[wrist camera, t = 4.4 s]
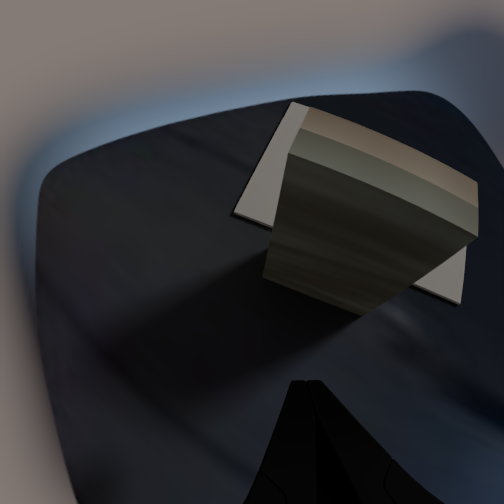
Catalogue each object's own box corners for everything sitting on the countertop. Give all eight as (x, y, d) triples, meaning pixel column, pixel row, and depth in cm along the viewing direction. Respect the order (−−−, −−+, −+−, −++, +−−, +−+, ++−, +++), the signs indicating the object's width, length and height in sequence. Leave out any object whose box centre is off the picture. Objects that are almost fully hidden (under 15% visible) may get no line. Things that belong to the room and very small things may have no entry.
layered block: (362, 316, 20) (477, 236, 9) (262, 277, 21) (288, 152, 10) (371, 282, 21) (477, 182, 10) (276, 244, 22) (309, 106, 11)
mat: (458, 304, 20) (460, 303, 20) (233, 213, 22) (233, 211, 22) (465, 179, 25) (467, 177, 25) (291, 104, 27) (292, 101, 27)
